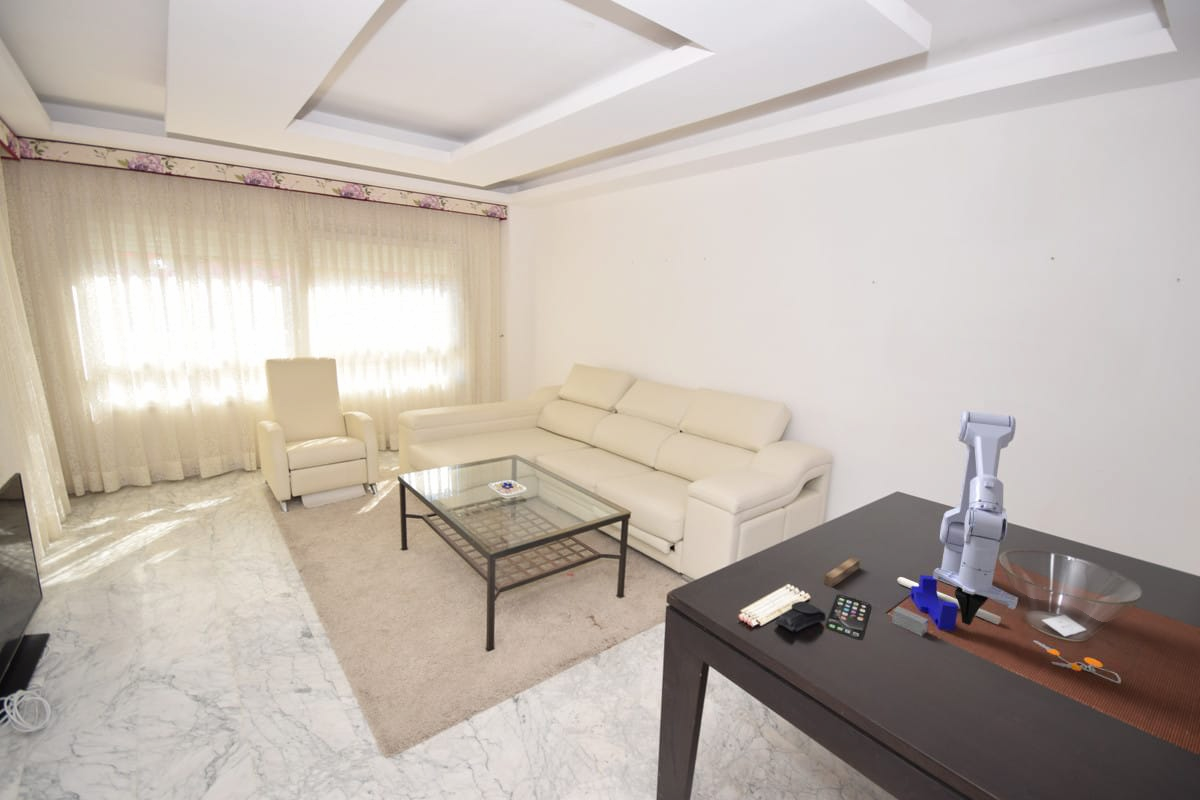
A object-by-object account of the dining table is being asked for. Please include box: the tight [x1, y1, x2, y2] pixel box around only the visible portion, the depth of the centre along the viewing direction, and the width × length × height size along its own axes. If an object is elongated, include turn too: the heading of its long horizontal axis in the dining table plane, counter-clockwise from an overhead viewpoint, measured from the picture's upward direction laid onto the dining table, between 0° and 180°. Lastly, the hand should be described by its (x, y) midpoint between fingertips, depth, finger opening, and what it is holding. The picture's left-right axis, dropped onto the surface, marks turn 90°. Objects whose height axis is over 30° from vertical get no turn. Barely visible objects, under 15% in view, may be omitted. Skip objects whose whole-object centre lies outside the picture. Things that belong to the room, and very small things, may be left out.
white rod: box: [897, 576, 1002, 626], centre depth 122 cm, size 2×21×2 cm, turn 39°
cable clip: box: [909, 574, 959, 632], centre depth 117 cm, size 12×4×6 cm, turn 169°
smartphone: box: [824, 594, 872, 641], centre depth 117 cm, size 7×1×15 cm
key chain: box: [1033, 639, 1122, 684], centre depth 103 cm, size 13×7×1 cm, turn 53°
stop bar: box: [823, 556, 861, 588], centre depth 132 cm, size 14×2×2 cm, turn 129°
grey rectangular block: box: [891, 605, 929, 637], centre depth 113 cm, size 2×6×3 cm, turn 39°
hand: (967, 622), depth 112 cm, fingers closed
